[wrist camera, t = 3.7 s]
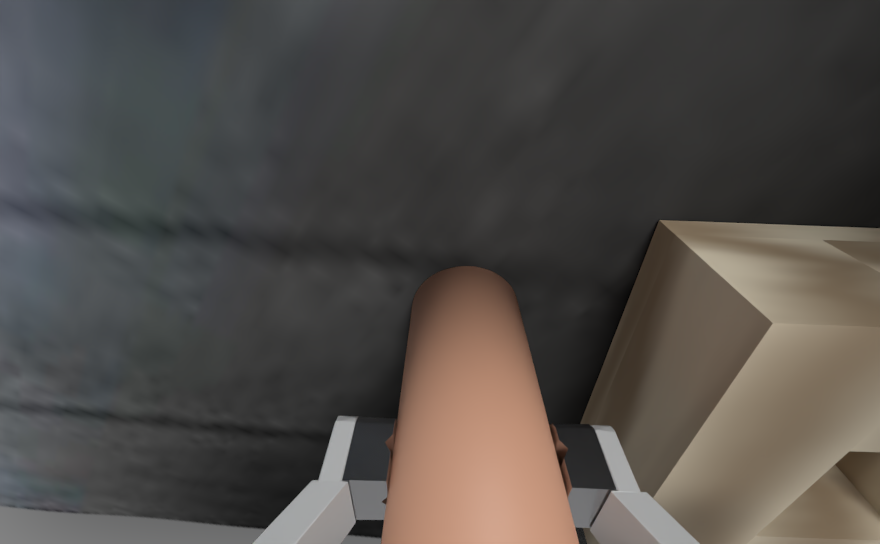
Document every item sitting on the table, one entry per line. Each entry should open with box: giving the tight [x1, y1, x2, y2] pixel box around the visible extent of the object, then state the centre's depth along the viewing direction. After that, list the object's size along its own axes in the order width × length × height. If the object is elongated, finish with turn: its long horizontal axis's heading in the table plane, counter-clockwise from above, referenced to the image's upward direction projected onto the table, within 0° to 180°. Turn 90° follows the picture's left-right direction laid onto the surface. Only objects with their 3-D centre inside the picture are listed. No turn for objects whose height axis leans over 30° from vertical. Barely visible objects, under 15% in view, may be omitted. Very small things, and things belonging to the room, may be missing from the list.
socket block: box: [580, 220, 880, 544], centre depth 14 cm, size 14×14×5 cm
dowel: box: [381, 266, 579, 544], centre depth 10 cm, size 4×4×10 cm
